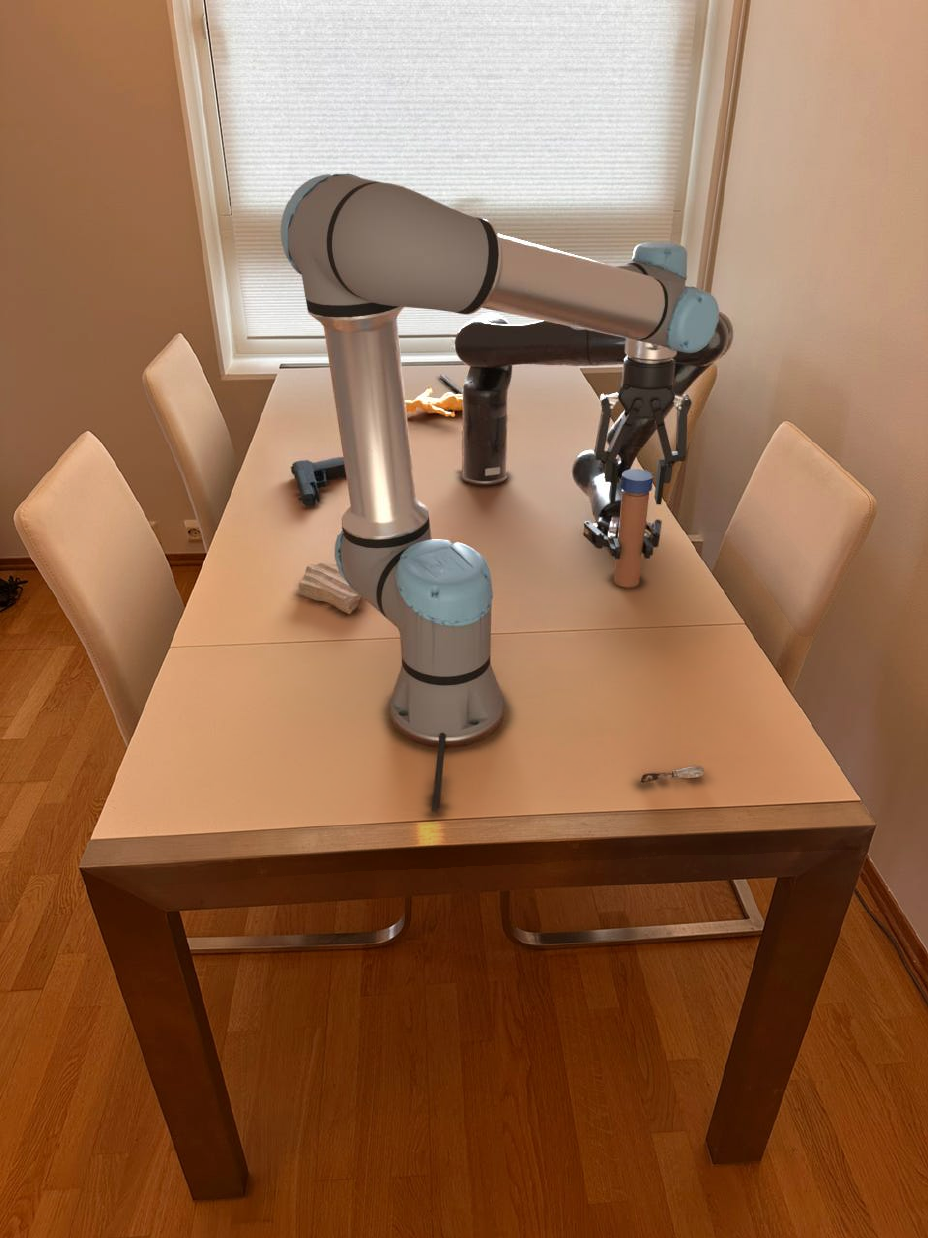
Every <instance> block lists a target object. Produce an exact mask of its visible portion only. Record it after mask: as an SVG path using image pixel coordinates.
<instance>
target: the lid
mask: <svg viewBox="0 0 928 1238" xmlns="http://www.w3.org/2000/svg"><path fill="white" fill-rule="evenodd" d="M653 482H654V474H653V473H652V472H650V471H649V470H645V469H639V468H632V469H631V468H630V470H626V471H624V472H623V473H622V478H621V488H622V490H624V491H625V492H628V493H632V494H644V493H648V492H649V493H650V492H651V491H652V490H653Z"/></svg>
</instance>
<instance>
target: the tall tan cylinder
mask: <svg viewBox="0 0 928 1238" xmlns="http://www.w3.org/2000/svg"><path fill="white" fill-rule="evenodd" d="M649 500H650V492H648V493H644V494H632V493H628V492H625V491H624V490H622V498H621V509H620V519H619V530H618V542H619V545H620V547H621V554H620V559H615V561H614V571H613V572H614V574H613V583H614V584H615V585H616V586H618V587H621V588H635V587H637V586H638V585H640V579H641V570H642V560H643V544H644V535H645V531H646V529H645V527H646V523H647V516H648V510H649V509H648V507H649Z"/></svg>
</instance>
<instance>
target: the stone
mask: <svg viewBox="0 0 928 1238" xmlns="http://www.w3.org/2000/svg"><path fill="white" fill-rule="evenodd" d="M297 595H300V596H303V597H306V598H309V599H313V600H314V601H322V602H325V603H328V604H330V605H332V606H334V607H335V608H336V609H338V610H340V611H342V612H343V613H345V614H349V615H350V614H352V612H353V611H354V610H356V608H358V605H359V601H360V600H361V598H363V597H362V596H361V595H359V594H357V593H356V592H355V591H354V590H353V589H352V588H351V587H350V586H349V585H348V584H347V582H346V581H345V579H344V578H343V576H342V575H341V573H340V572H339V570H338V567H337V564H336V563H330V562H329V563H327V562H319V563H318V564H312V563H310V564H308V565H307V566H306V567H305V571H304V574H303V578H302V580H301V581H300V582H298V591H297Z"/></svg>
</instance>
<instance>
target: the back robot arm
mask: <svg viewBox="0 0 928 1238" xmlns="http://www.w3.org/2000/svg"><path fill="white" fill-rule="evenodd" d="M733 341H734V326H733V324H732V321H731V320H730V318H729V317H728V316H727V315H726V314H725V313H723V312H722V311H720V310H719V321H718V324H717V327H716V329H715V333H714V335H713V337H712V339H711V340H710V342H709V343H708V344H707V345H706V346H705V347H704V348H703V349H701V350H699V351H697V352H694V353H685V352H681V351H677V354H676V355H675V356H674V357H673V358H674V360H675V371H674V379H673V391H674V393H675V394H678V395H682V396H683V395H685V394H686V392H687V391H688V389H689V388H690V387H691V386H692V385H693V384H694V383H695V382H696V381H697V379H698V378H699V377H700V376H702V374H703V373H705V372H706V371H707V370H708V369H709V368H710V367H712V365H713V364H715V363H716V362H717V361H719V360H721V358H723V357H724V356H725V355H726V354H727V353H728V352H729V350H730V348H731V346H732V344H733ZM625 342H626V338H624V337H620V336H615V335H610V334H605V333H600V332H596V331H591V330H586V329H585V330H576V329H573V328H571V327H570V326H567V325H562V324H557V323H552V322H547V321H543V320H539V321H535V322H534V321H533V322H530V323H525V324H524V323H523V324H510V323H509V322H508V320H507V319H506V318H505V317H503V315H500V314H499V313H495V312H487V313H486V312H485V313H483V314H481V315H478V316H477V317H475V318H472V319H471V320H470V321H468V322H466V323H465V324H464V325H463V326H462V327H460V329H459V331H458V332H457V334H456V336H455V339H454V351H455V354H456V356H457V357H458V359H459V360H460V361H461V362H462V363H463V364H464V365H467V366H468V370H467V375H466V377H465V379H464V381H463V384H462V389H460V388H458V386H457V385H455V384H454V383H453V382H452V381H450V380H449V379H448V378H447V377H446V376H445V375H443V373H441V374H440V375H439V378H441V379H442V380H443V381H444V382H445V383H446V384H447V385H448V386H450V387H451V388H452V389H453V390H455V391H456V392H457V393H458V394H462V410H461V411H462V430H461V475H462V476H461V477H462V480H463V481H464V482H466V483H469V484H472V485H475V486H494V485H498V484H501V483H503V482H505V480H506V479H507V473H508V472H507V458H508V457H507V456H508V450H507V449H508V409H509V408H508V405H509V402H508V400H509V390H510V389H509V388H510V386H511V384H512V383H511V382H512V377H513V366H518V365H520V366H521V365H533V366H535V365H536V366H555V367H556V366H557V367H558V366H559V367H560V366H562V367H563V366H564V367H602V366H617V365H618V366H619V365H623V364H624V358H625V357H626V356H627V354H626V353H625ZM673 408H675V403H674V402H672V403H671V404H670V405H669V406H668V408H667V409H666V410H665V411H664V412H663V413H662V414H663V418H664V420H665V419H666V418H667V416H668V415H669V413H670V412H671V411H672V410H673ZM624 411H625V409H624ZM624 411H622V413H621V414H620V415H619V416H618V418H617V419H616V421H615V422H614V423H613V424H612V425H611V427H610V428H609V429H608V434H607V439H606V444H607V446H608V447H609V446H610V443H611V441H612V439H613V437H614V435H615V433H616V430H617V428H618V426H619V424H620V422H621V419H622V416H623V413H624ZM656 432H657V427H656V423H655V420H648V419H641V420H634V422H633V425H632V426H631V427H630V429H629V431H628V433H627V436H626V438H625V440H624V442H623V444H622V446H621V448H620V451H619V453H618V455H617V457H616V459H617V461H618V465H619V468H618V478H617V489H616V500H615V504H610V499H609V491H610V482H605V478H604V470H605V462H604V461H602V460H597V459H596V458H595V453H594V450H595V449H587V450H584V451H582V452H580V453H579V454H577V456H575V459H574V460H573V462H572V467H571V475H572V479H573V482H574V483H575V485H576V486H577V487H578V489H580V490H581V492H582V493H583V494H584V495H585V496H587V498H588V501H589V502H590V505H591V513H592V516H593V517H594V519H595V523H593V522H591V521H590V520H584V522H583V530H582V534H583V535H582V536H583V537H584V538H585V539H586V540H587V541H588V542H589V543H590V544H591V545H592V546H593V547H595V548H596V549H600V550H601V549H603V547H604V548H606V550H607V551H608V552H609V555H610V556H611V557H612V558H613V557H614V559H615V560H616V559H620V554H621V547H620V545H619V542H618V530H619V519H620V509H621V498H622V488H621V478H622V473H623V472H624V471H626V470H630V469H631V468H632V466H633V464H634V462H635V461H636V458H637V456H638V455H639V453H640V451H641V450H642V449H643V447H645V445H646V444H647V443H648V442H649V440H650V439H651V438H652V436H653V435H654V434H655V433H656ZM662 523H663V520H661V519H658V518H657V519H654V521H652V522H646V527H645V535H644V544H643V553H642V556H643V557H644V559H646V560H647V559H650V558H651V557H652V556H653V555H654V548H658V547H659V543H660V538H661V532H662V531H661V530H662V525H663V524H662ZM647 531H648V532H647Z"/></svg>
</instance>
